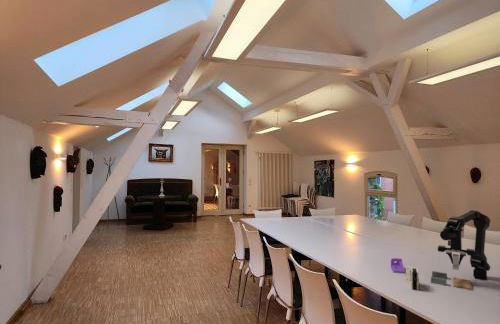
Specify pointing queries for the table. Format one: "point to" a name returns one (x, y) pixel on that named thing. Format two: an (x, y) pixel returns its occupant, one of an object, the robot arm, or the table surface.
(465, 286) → the walnut pad
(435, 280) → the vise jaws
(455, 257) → the grey flared bar
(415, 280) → the hinge
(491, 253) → the table surface
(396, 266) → the bracket
